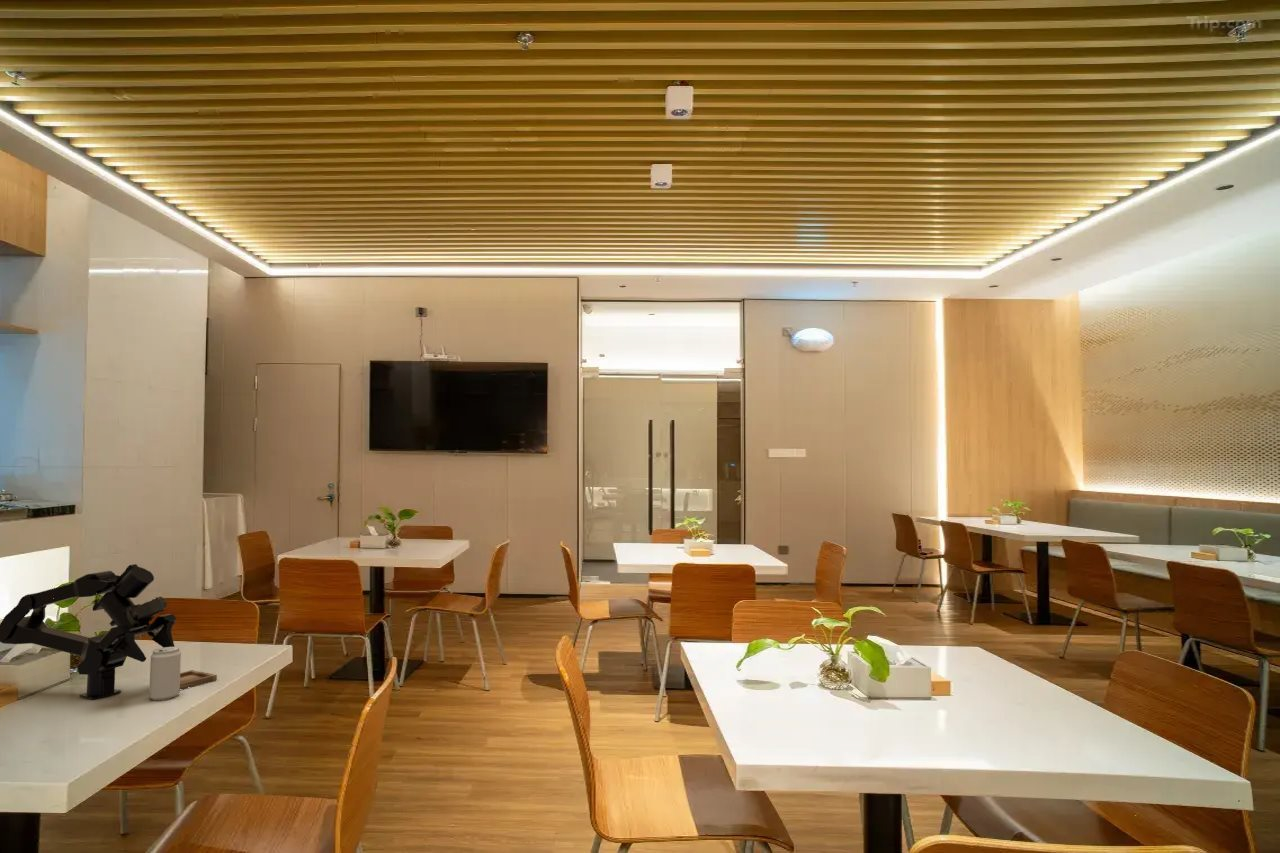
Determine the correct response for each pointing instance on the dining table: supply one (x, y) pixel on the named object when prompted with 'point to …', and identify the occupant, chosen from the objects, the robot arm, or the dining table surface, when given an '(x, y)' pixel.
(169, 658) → the beverage can
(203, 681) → the tray
